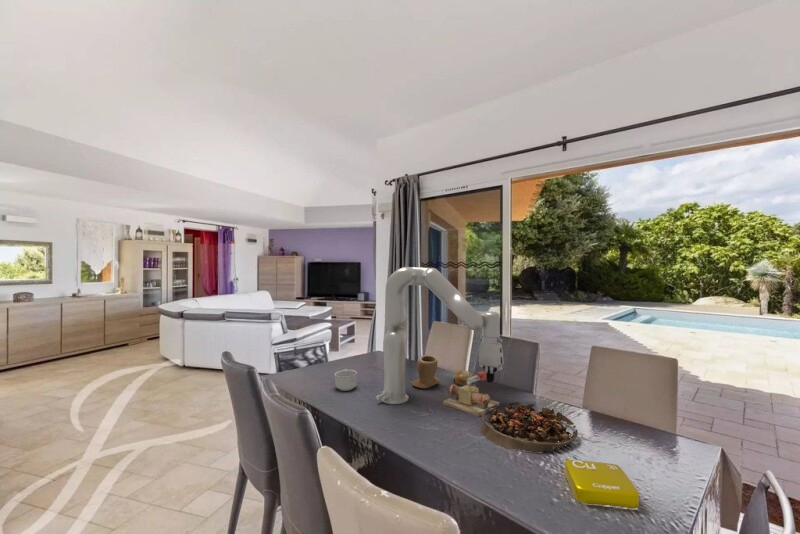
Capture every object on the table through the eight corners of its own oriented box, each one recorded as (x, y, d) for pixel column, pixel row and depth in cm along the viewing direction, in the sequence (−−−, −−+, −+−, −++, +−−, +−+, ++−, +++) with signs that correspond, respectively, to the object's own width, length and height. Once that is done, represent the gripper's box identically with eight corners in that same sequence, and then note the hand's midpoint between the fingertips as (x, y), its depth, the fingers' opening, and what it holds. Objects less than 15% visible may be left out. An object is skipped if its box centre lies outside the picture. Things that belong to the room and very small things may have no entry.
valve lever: (470, 386, 158) (470, 378, 158) (465, 385, 160) (465, 377, 159) (486, 380, 167) (486, 372, 167) (481, 378, 168) (481, 371, 168)
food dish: (532, 410, 158) (533, 392, 158) (599, 448, 127) (601, 425, 127) (460, 420, 146) (461, 400, 146) (516, 464, 115) (517, 439, 115)
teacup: (355, 392, 175) (355, 376, 175) (332, 392, 176) (332, 375, 176) (359, 383, 189) (359, 367, 189) (337, 383, 190) (338, 367, 190)
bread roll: (464, 393, 185) (470, 380, 183) (448, 381, 191) (454, 368, 189) (473, 388, 193) (479, 375, 191) (457, 376, 199) (463, 364, 197)
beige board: (478, 416, 149) (478, 412, 149) (443, 404, 161) (443, 401, 161) (499, 405, 160) (499, 402, 160) (464, 395, 173) (464, 392, 173)
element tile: (577, 505, 95) (577, 486, 95) (562, 472, 109) (562, 456, 109) (642, 513, 92) (642, 493, 92) (618, 478, 107) (618, 461, 107)
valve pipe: (482, 410, 151) (483, 392, 151) (447, 399, 163) (447, 382, 163) (490, 406, 155) (490, 389, 155) (455, 395, 168) (455, 379, 168)
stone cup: (427, 392, 176) (427, 361, 176) (408, 386, 185) (408, 356, 184) (446, 384, 187) (446, 355, 187) (428, 379, 196) (428, 351, 195)
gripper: (510, 340, 161) (510, 383, 161) (479, 336, 170) (479, 376, 171) (503, 343, 155) (502, 387, 155) (471, 338, 165) (470, 380, 165)
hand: (490, 381), depth 163 cm, fingers closed
